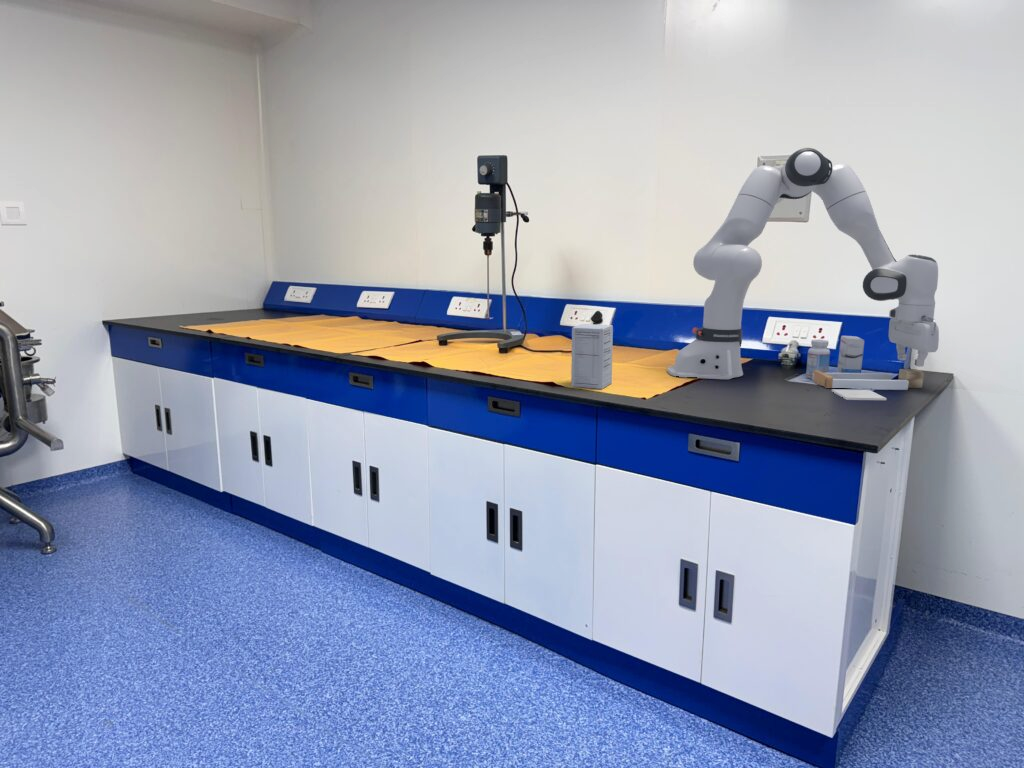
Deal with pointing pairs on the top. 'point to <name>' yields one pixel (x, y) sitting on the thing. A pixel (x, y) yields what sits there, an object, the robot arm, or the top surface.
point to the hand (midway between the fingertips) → (910, 363)
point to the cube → (912, 377)
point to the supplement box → (592, 356)
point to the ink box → (850, 354)
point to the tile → (858, 394)
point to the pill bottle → (818, 357)
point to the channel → (859, 380)
